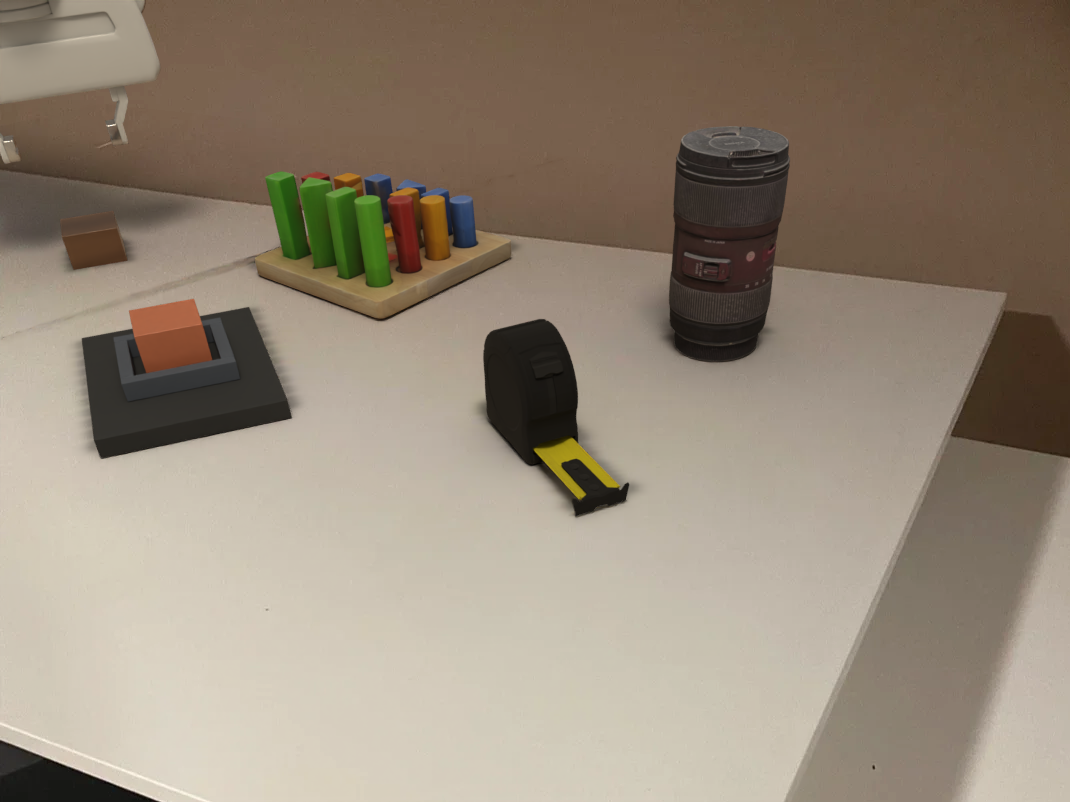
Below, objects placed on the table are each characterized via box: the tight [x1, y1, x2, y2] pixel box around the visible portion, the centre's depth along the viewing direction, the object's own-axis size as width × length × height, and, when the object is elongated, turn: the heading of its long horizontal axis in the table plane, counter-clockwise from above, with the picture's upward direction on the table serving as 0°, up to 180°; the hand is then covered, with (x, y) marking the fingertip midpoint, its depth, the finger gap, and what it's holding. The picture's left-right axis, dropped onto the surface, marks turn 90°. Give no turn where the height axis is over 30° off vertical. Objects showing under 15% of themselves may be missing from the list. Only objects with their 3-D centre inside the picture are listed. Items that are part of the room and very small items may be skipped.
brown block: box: [59, 210, 128, 271], centre depth 97 cm, size 5×5×4 cm
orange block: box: [128, 298, 212, 373], centre depth 78 cm, size 5×5×4 cm
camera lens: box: [668, 125, 791, 363], centre depth 77 cm, size 8×8×15 cm
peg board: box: [254, 170, 512, 319], centre depth 93 cm, size 18×17×9 cm
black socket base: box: [81, 306, 292, 459], centre depth 80 cm, size 18×14×3 cm
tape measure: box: [482, 318, 630, 517], centre depth 68 cm, size 15×4×8 cm, turn 25°
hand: (67, 152), depth 91 cm, fingers open, 8 cm apart
